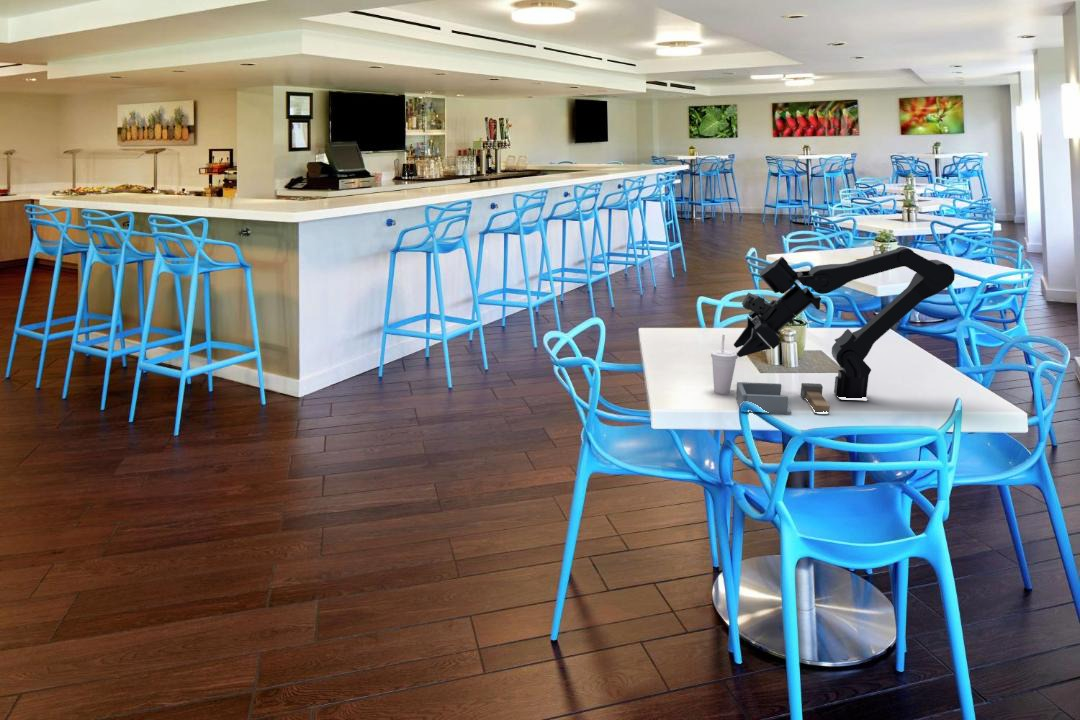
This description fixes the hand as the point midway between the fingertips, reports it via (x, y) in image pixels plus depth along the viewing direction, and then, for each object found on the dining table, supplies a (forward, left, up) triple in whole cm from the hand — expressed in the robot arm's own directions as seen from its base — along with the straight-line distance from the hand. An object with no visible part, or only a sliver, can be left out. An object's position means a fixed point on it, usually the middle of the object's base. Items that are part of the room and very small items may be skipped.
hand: (736, 350), depth 203 cm
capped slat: (-18, +9, -10) cm, 22 cm away
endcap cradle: (-5, +10, -10) cm, 16 cm away
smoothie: (+3, 0, -10) cm, 11 cm away
